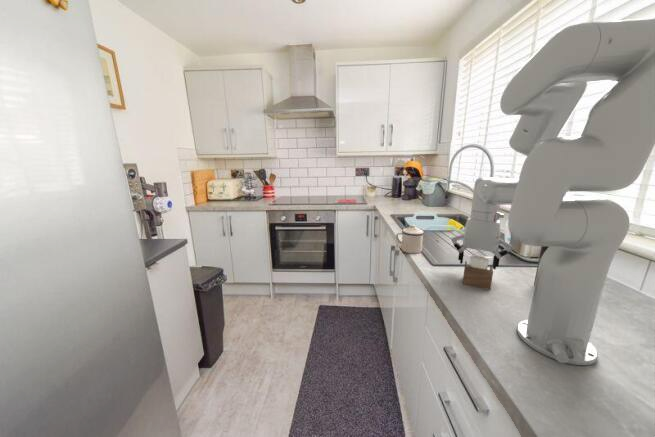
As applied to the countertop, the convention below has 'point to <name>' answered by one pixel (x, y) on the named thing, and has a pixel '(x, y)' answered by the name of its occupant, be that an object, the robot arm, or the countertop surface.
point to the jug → (478, 262)
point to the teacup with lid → (411, 239)
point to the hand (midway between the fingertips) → (477, 264)
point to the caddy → (477, 277)
